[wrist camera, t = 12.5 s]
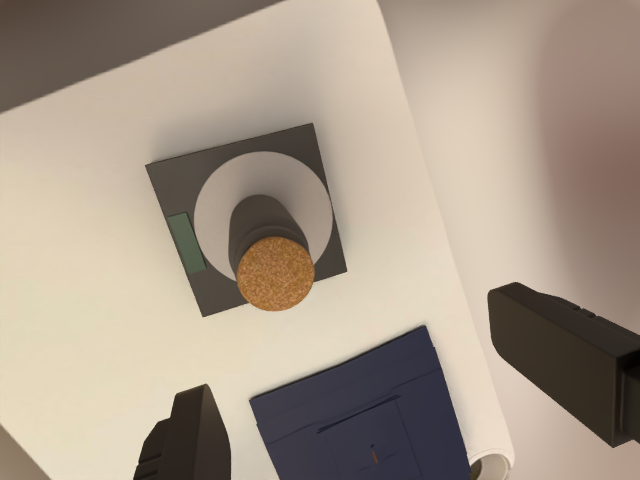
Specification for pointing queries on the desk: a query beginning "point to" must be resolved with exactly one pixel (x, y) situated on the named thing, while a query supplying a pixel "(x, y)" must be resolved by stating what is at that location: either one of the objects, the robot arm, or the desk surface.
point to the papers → (367, 419)
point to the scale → (231, 188)
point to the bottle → (269, 254)
